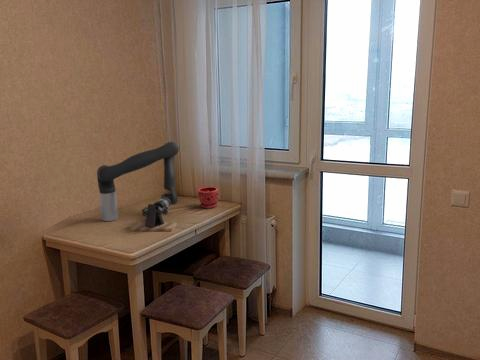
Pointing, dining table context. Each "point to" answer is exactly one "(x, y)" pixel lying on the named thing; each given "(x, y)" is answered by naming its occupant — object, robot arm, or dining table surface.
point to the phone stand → (153, 216)
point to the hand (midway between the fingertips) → (151, 214)
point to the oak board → (163, 227)
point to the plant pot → (208, 197)
